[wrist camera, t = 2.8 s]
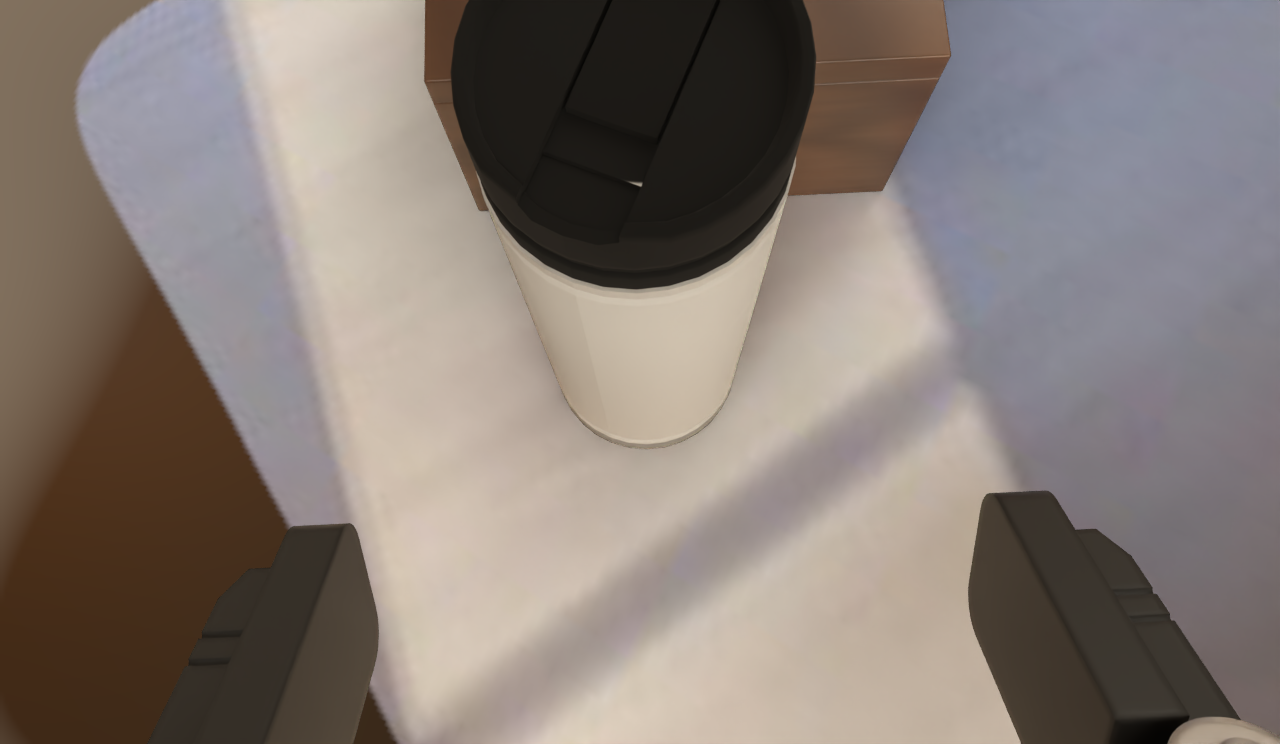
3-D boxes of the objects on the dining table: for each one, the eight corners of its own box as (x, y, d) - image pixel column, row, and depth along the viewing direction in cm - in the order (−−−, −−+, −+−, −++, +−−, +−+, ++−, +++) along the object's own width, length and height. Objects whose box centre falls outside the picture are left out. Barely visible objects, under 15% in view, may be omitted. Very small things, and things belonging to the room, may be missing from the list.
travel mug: (762, 307, 36) (884, -70, 17) (696, 477, 34) (744, 280, 15) (602, 247, 37) (538, -183, 17) (530, 411, 35) (371, 141, 16)
